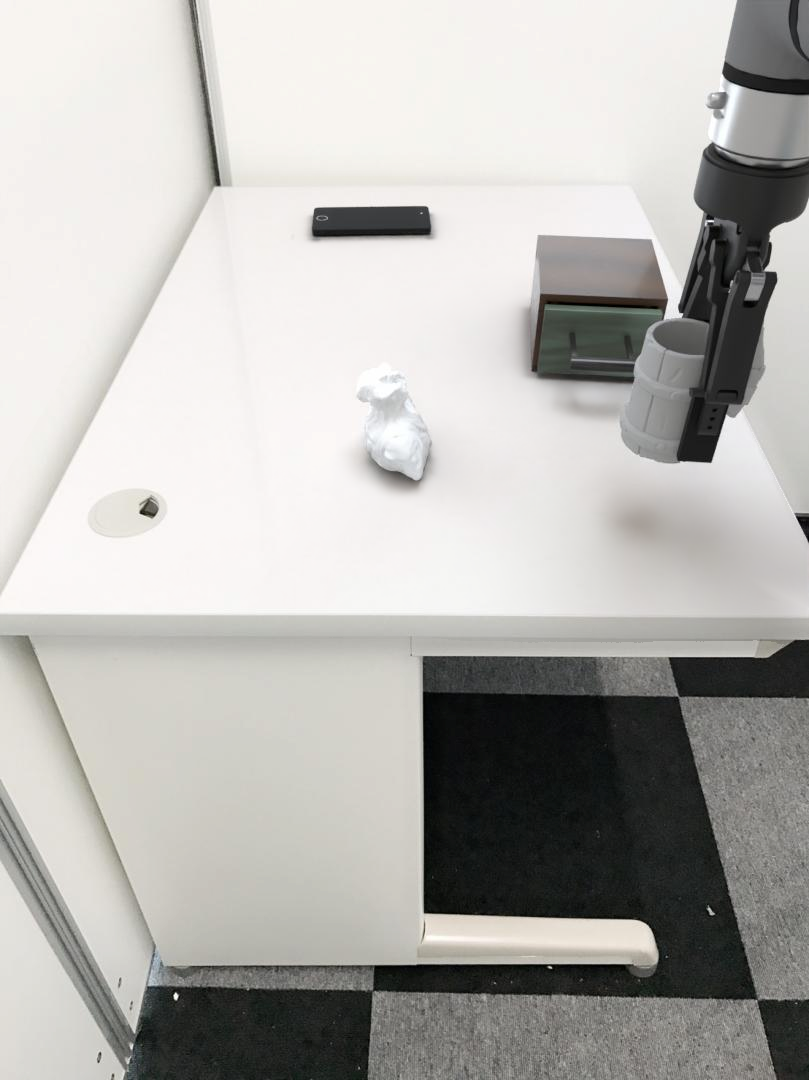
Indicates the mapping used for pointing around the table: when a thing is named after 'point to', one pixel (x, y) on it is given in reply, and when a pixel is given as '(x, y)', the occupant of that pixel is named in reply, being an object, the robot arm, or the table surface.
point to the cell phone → (371, 220)
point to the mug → (671, 387)
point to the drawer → (593, 337)
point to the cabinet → (593, 276)
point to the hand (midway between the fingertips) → (686, 429)
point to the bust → (393, 423)
